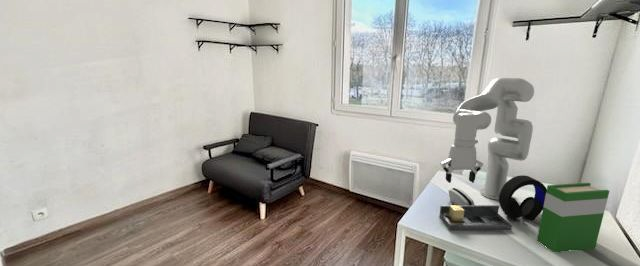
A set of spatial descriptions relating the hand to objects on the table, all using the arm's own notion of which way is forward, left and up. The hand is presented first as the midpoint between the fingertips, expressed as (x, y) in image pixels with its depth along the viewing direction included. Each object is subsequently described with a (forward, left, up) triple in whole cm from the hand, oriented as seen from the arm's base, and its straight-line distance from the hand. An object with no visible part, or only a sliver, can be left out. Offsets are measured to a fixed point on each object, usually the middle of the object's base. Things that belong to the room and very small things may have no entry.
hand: (459, 181), depth 121 cm
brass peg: (0, 0, -20) cm, 20 cm away
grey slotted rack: (-8, 0, -20) cm, 22 cm away
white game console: (-10, -15, -21) cm, 28 cm away
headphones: (-31, -5, -20) cm, 38 cm away
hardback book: (-36, +15, -20) cm, 44 cm away
